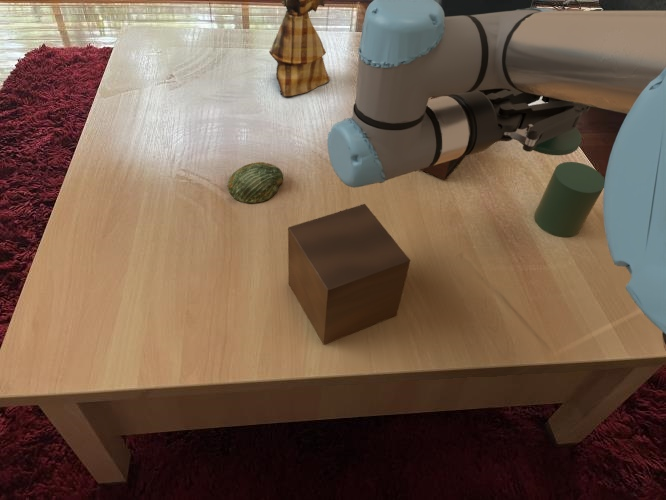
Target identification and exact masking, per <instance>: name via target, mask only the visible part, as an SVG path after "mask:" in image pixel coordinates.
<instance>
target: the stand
mask: <svg viewBox="0 0 666 500" xmlns="http://www.w3.org/2000/svg"><path fill="white" fill-rule="evenodd" d="M287 235H288V236H287V257H288V258H287V261H288V263H287V264H288V265H287V267H288V272H287V274H288V276H287V278H288V279H287V280H288V282H287V283H288V286H289V288H290V289H291V291H292V293H293V295H294V296H295V298H296V300H297V301H298V303H299V305H300V306H301V308H302V310H303V312H304V313H305V315H306V317H307V319H308V320H309V323H310V324H311V325H312V328H313V329H314V331H315V332H316V335H317V336H318V338H319V339H320V341H321V343H322V345H326V344H327V345H328V344H329V343H331V342H335V341H336V340H339V339H341V338H344V337H347V336H349V335H351V334H354V333H357V332H360V331H361V330H364V329H366V328H368V327H371V326H373V325H374V326H375V325H376V324H378V323H382V322H383V321H386V320H388V319H391V318H394V317H396V316H397V315H398V312H399V308H400V304H401V300H402V295H403V293H404V288H405V284H406V279H407V275H408V272H409V268H410V263H411V259H410V258H409V256H408V255H407V254H406V253H405V251H403V249H402V248H401V246H399V244H398V243H397V242H396V240H395V239H394V238H393V236H392V235H390V233H389V232H388V231H387V229H386V228H385V226H384V225H383V224H382V223H381V222H380V221H379V220H378V218H377V217H376V216H375V215H374V213H373V212H372V210H371V209H370V208H369V207H368V206H367V204H366V203H363V204H360V205H356V206H353V207H350V208H346V209H343V210H340V211H337V212H334V213H331V214H327V215H323V216H321V217H317V218H315V219H314V218H313V219H310V220H308V221H307V220H306V221H304V222H301V223H298V224H295V225H291V226H288V227H287Z"/></svg>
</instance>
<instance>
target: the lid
mask: <svg viewBox="0 0 666 500" xmlns="http://www.w3.org/2000/svg"><path fill="white" fill-rule="evenodd" d="M555 101H561V100H560V99H555V98H549V100H548V102H547V103H549V102H555ZM581 142H582V135H581V133H580V131H579V129H578V128H577V126H576V127H575V129H573V130H571V131H568V132H566V133H564V134H561V135H559V136H556V137H554V138H552V139H549V140H547V141H545V142H542V143H540V144H537V146H536V147H535V148H534V149H533V150H532V151H533V152H536V153H540V154H544V155H548V156H566V155H570V154H573V153H574V152H576V151H577V150H578V149H579V147H580V145H581ZM519 143H520V144H521V145H522V146H523V145H524V143H522V142H519Z"/></svg>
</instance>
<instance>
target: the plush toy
mask: <svg viewBox="0 0 666 500" xmlns="http://www.w3.org/2000/svg"><path fill="white" fill-rule="evenodd" d="M326 1H327V0H281V4H282V5H283V8H286V11H285V14H284V16H283V18H282V20H281V23H280V26H279V29H278V31H277V34H276V36H275V37H274V40H273V42H272V45H271V47H270V49H269V51H268V52H269V54H270V56H271V57H272V58H273V59H274V60H275V62H276V63H277V65H276V70H275V71H276V73H275V75H276V80H277V83H278V86H279V89H280V90H279V92H280V93H279V94H280V95H281V96H282V97H286V98H287V97H292V96H296V95H301V94H304V93H308V92H311V91H312V90H314V89H316V88H318V87H320V86H323V85H325V84H327V83H328V82H329V81H330V79H331V77H330V76H329V75H328V72H327V69H326V65H325V62H324V56H325V55H326V53H327V51H326V49H325V47H324V45H323V42H322V40H321V38H320V36H319V34H318V32H317V30H316V29H315V27H314V25H313V23H312V20H311V17H310V15H309V13H310V12H311V11H313V12H315V13H316V12H317V10H318V8H319V6H321V7H325V4H326Z"/></svg>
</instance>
